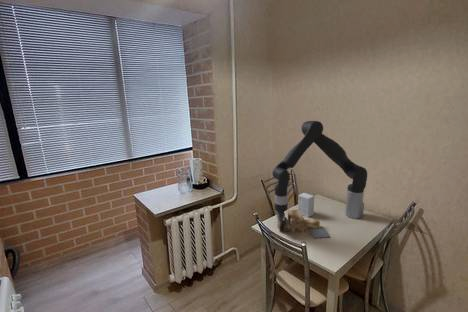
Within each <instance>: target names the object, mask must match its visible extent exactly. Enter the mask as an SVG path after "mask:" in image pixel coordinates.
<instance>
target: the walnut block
mask: <svg viewBox="0 0 468 312" xmlns="http://www.w3.org/2000/svg"><path fill="white" fill-rule="evenodd" d="M280 220H281V219H280ZM277 229H278V231H279V233H281V232H289V231H290V225H289V222H288V217H286V224H285V226H284V231H280V221H279V219H277Z"/></svg>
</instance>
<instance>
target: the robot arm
mask: <svg viewBox="0 0 468 312" xmlns="http://www.w3.org/2000/svg"><path fill="white" fill-rule="evenodd" d="M301 132H302V134H303V135H304V136H303V137H302V139H301V140H300V141H298V143H297V144H296V145H294V146H293V147H292V148H291V149H290V150H289V151H288V153H286V155H285V157H284V158H283V160H281V161H280V162H279V163H277V165H276V166H275V167H274V168H273V169H272V177H273V178H274V179H275V180H277V181H278V183H276V184H275V185H274V198H273V199H274V201H273V202H274V205H273V206H274V208H273V209H274V210H275V211H276V217H277V218H276V219H277V220H278V219H279V221H280V231H283V232H285V231H284V226H285V224H286V218H287V217H286V213H285V212H286V211H288V205H289V204H288V186H289V185H290V184H289V183H290V179H291V176H290V172H289V171H288V170H289V169H293V168H294V167H295V166H296V165H297V164H298V162H299V161H300V159H301V157H302V156H303V155H304V154H305V152H307V150H308V149H309V148H310V147H311V146H312V145H313V143H314V144H315V145H316V146H317V147H318V148H319V149H320V150H321V151H322V152H323V153H324V154H325V155H326V157H327V158H329V159H330V160H331V161H332V162H333V163H334V164H336V165H337V166H339V168H340V169H341V170H342V171H343V172H344V174H345V175H346V176H347V177H348V178H349V179H351V180H352V181H351V182H352V183H351V184H348V185H347V188H346V189H347V193H346V205H345V206H346V207H345V216H346V217H347V218H351V219H354V220H355V219H356V220H358V219H361V218H363V217H364V210H365V202H364V196H365V195H364V192H365V189H366V186H367V180H368V171H367V169H366V168H365V167H363V166H360V165H358V164H356V163H355V162H353V161H352V160H351V159H350V158H349V157H348V154H347V152H346V150H344V148H343V147H342V146H341V145H340V144H339V143H338V142H336V141H335V140H333V139H332V138H330V137H328V136H327V135H325V134H324V133H323V132H324V125H323V123H322V122H321V121H318V120H308V121H304V122H303V123H302V125H301ZM280 219H281V220H280ZM280 231H279V232H280Z"/></svg>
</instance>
